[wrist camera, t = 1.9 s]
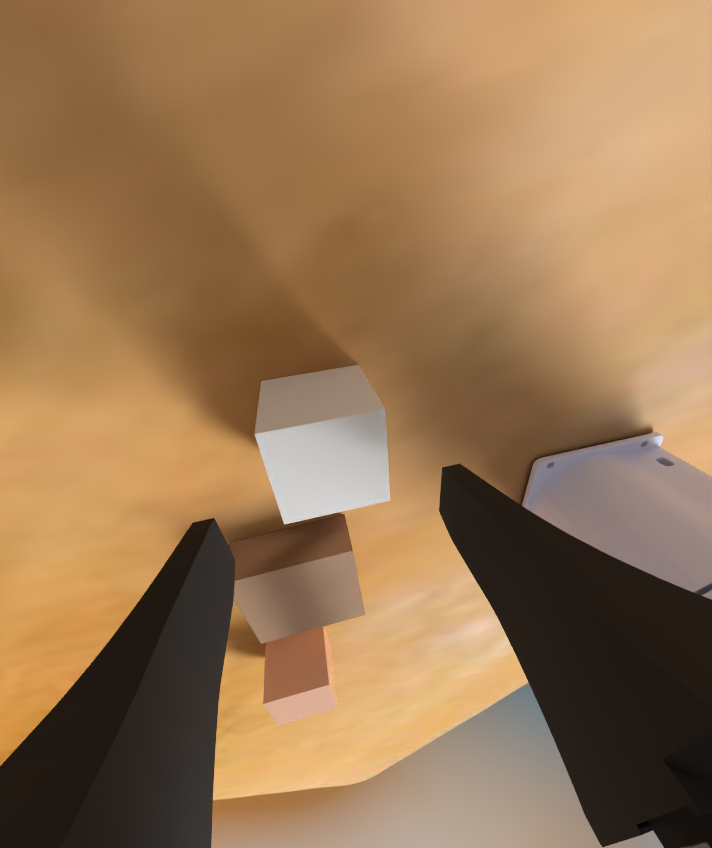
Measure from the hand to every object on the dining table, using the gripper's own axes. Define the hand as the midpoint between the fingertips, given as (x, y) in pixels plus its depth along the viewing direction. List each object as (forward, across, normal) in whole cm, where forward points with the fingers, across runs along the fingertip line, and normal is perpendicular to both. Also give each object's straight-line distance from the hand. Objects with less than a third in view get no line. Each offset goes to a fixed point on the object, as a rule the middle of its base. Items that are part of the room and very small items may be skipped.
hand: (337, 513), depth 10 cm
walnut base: (+7, +3, +11) cm, 13 cm away
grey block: (+7, 0, 0) cm, 7 cm away
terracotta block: (+7, +5, +21) cm, 23 cm away
